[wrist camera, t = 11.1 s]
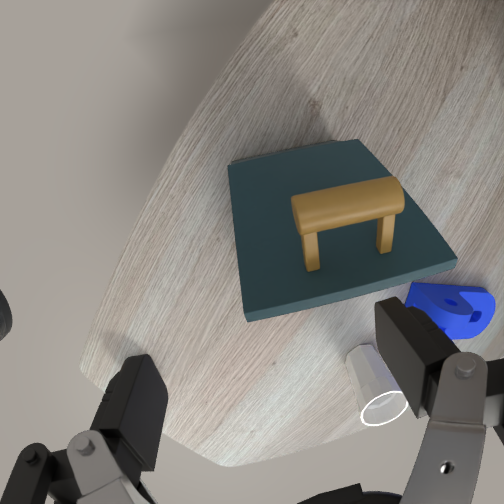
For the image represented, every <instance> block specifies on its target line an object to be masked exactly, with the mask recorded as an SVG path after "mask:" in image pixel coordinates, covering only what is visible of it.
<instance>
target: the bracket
mask: <svg viewBox="0 0 504 504" xmlns="http://www.w3.org/2000/svg"><path fill="white" fill-rule="evenodd" d="M410 306H414V307H416V308H419V309H421V310H423V311H425V312H426V313H427V315H428V316H429V317H430V318H431V319H432V321H434V322H435V323H436V324H437V325H438V327H439V328H440V329H441V330H442V331H443V332H444V333H445V334H446V335H447V336H448V337H449V339H450V340H451V341H452V339H469V338H473V337H475V336H477V335H478V334H480V333H481V332H482V331H483V330H484V329H485V328H486V327H487V326H488V324H489V323H490V321H491V319H492V317H493V315H494V311H495V299H494V297H493V296H492V295H491V294H490V293H489V292H487V291H486V290H485V289H484V288H481V287H470V286H456V285H443V284H429V283H416V282H412V284H411V288H410V291H409V294H408V297H407V300H406V303H405V307H406V308H407V307H410ZM473 311H474V312H473ZM472 313H473V314H472ZM452 342H453V341H452Z"/></svg>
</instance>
